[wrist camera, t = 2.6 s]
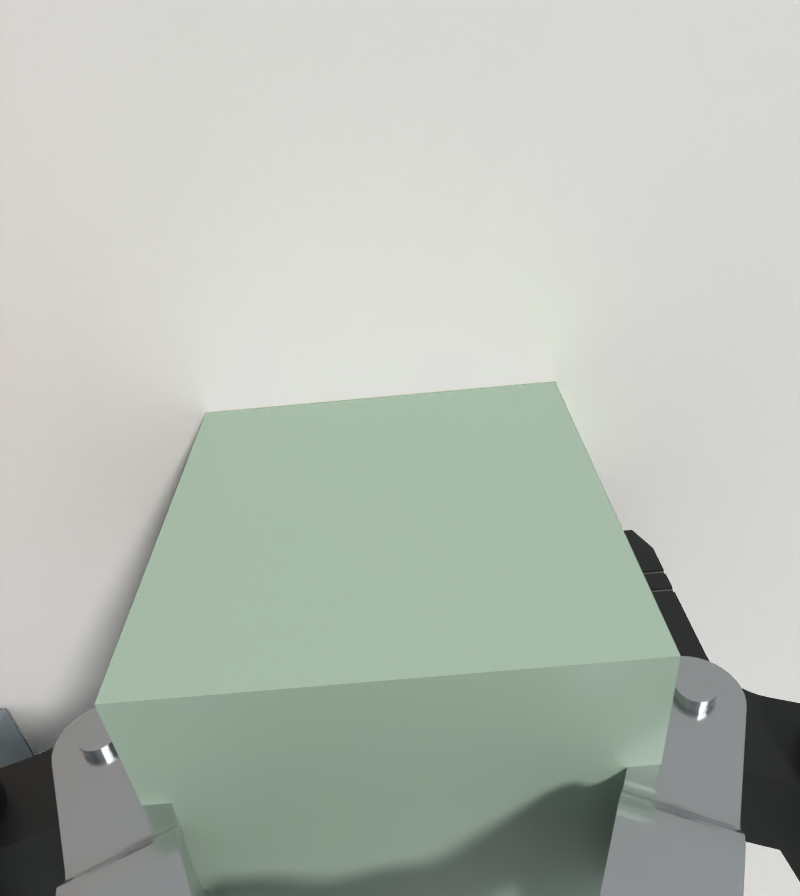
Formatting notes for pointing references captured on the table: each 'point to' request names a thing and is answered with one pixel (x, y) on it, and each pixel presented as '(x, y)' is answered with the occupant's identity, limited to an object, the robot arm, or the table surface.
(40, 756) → the robot arm
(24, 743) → the base brick
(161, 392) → the table surface
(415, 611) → the brick sage
